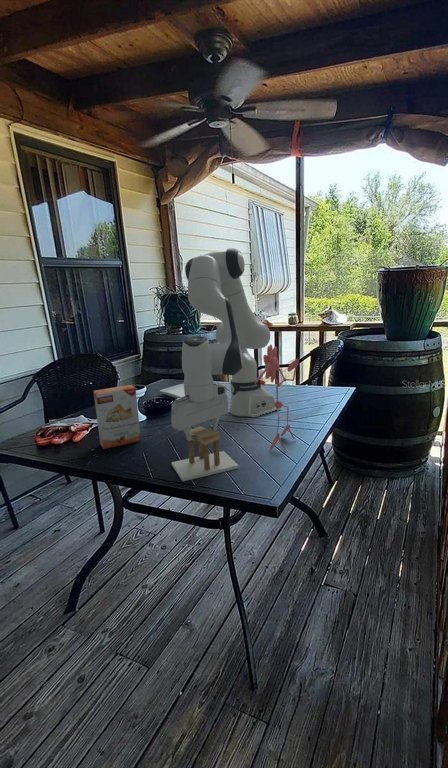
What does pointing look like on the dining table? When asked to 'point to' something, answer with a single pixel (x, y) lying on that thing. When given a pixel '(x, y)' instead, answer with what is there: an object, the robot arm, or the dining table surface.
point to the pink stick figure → (270, 370)
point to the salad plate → (174, 391)
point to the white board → (197, 468)
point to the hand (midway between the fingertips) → (202, 435)
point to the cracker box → (117, 416)
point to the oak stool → (204, 445)
